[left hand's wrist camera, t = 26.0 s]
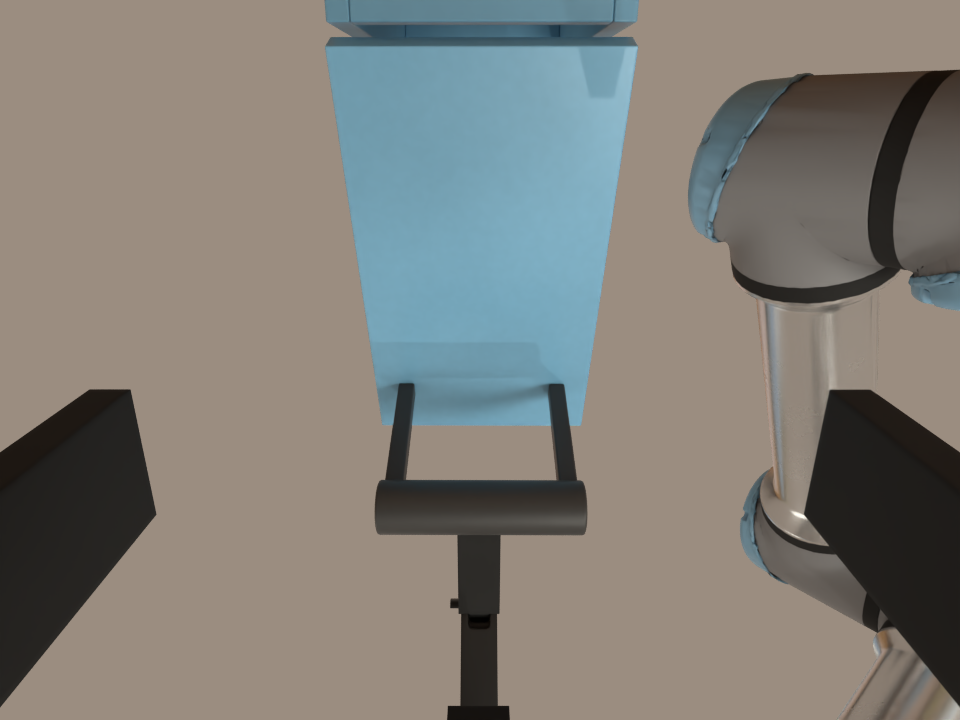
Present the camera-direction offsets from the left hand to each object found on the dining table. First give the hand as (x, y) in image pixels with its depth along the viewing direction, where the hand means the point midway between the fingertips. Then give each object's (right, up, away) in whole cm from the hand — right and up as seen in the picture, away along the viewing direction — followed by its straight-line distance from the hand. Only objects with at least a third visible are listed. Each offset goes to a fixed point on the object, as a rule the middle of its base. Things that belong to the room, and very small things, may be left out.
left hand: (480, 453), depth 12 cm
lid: (0, +6, +13) cm, 14 cm away
